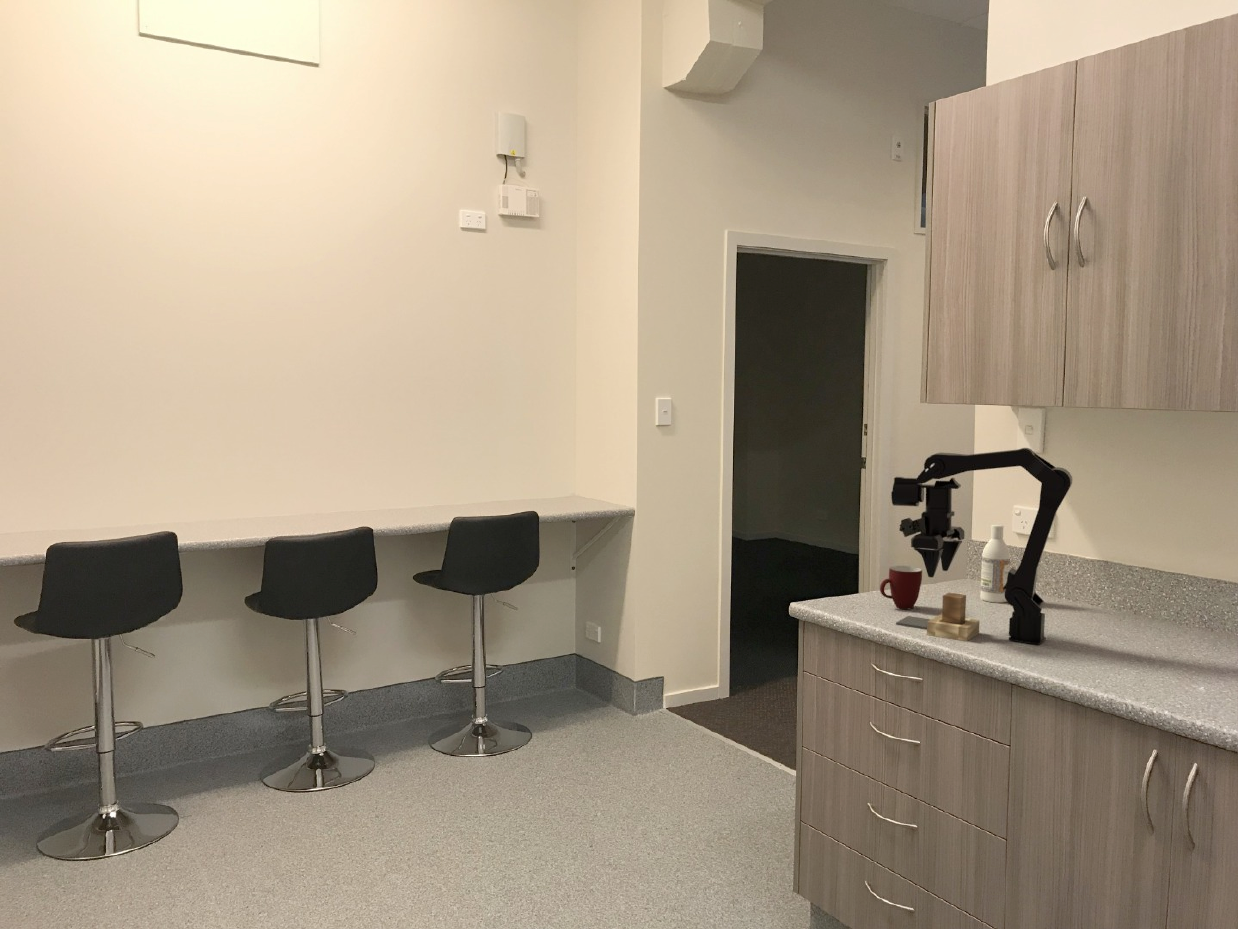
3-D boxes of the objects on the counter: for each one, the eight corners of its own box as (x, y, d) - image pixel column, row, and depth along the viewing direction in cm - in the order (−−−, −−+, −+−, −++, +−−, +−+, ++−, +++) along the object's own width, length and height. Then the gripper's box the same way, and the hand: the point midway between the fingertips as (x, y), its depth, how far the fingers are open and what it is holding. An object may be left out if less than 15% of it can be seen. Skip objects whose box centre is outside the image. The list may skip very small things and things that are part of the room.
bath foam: (1001, 604, 254) (1004, 528, 253) (975, 600, 259) (978, 525, 258) (1012, 600, 259) (1016, 525, 257) (987, 596, 264) (990, 522, 262)
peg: (964, 633, 226) (966, 595, 225) (958, 637, 222) (960, 598, 222) (947, 630, 228) (948, 592, 227) (941, 634, 225) (942, 595, 224)
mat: (940, 623, 235) (940, 621, 235) (929, 629, 229) (929, 627, 228) (908, 617, 240) (908, 615, 240) (896, 624, 233) (896, 622, 233)
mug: (890, 612, 245) (891, 573, 244) (873, 605, 253) (874, 567, 252) (927, 610, 248) (928, 571, 247) (909, 603, 255) (910, 565, 254)
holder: (979, 633, 226) (979, 620, 226) (966, 641, 219) (967, 628, 219) (940, 626, 232) (940, 614, 231) (926, 634, 224) (927, 621, 224)
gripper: (919, 501, 239) (919, 564, 241) (889, 509, 225) (889, 577, 226) (965, 503, 233) (964, 569, 234) (937, 512, 218) (936, 582, 219)
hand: (938, 574), depth 228 cm, fingers open, 9 cm apart
